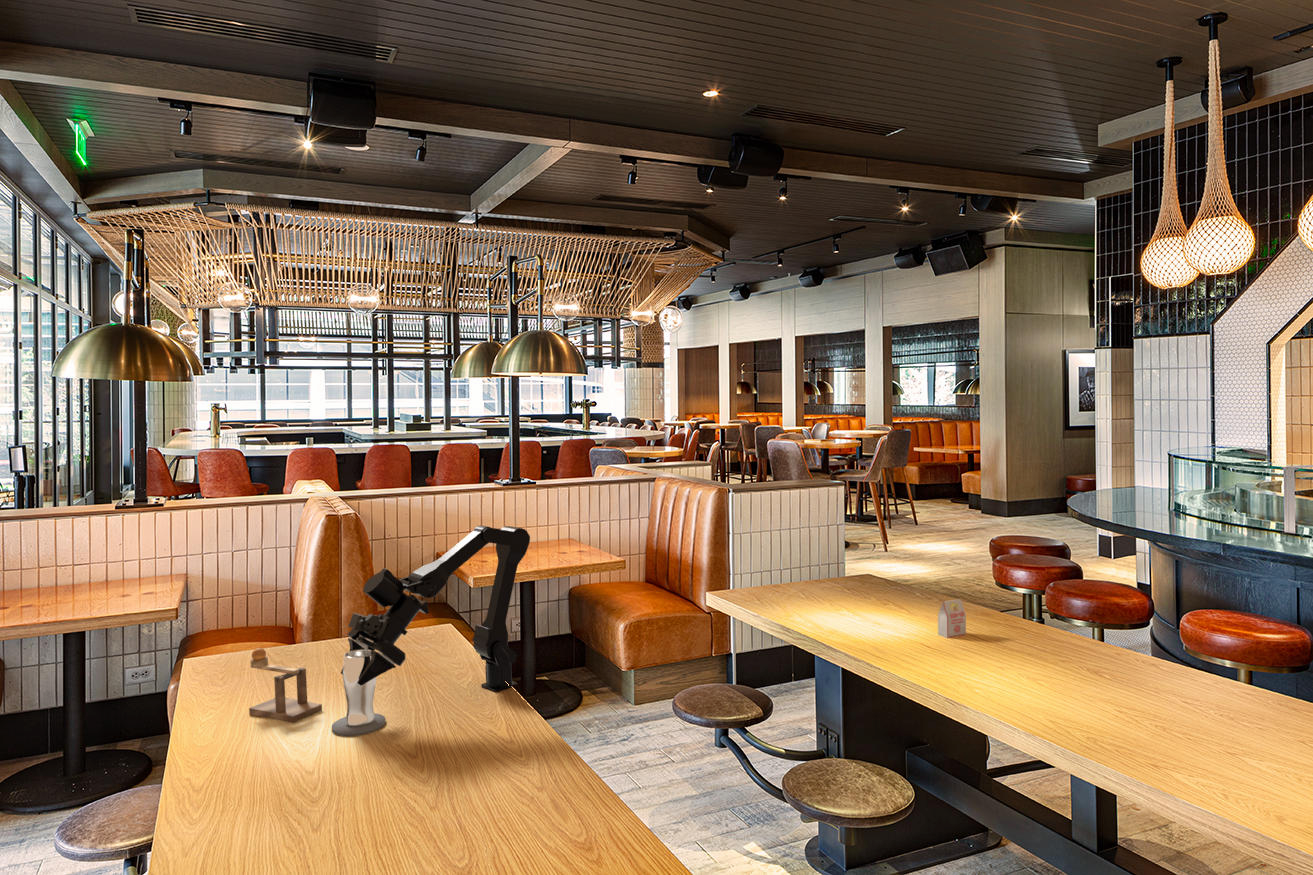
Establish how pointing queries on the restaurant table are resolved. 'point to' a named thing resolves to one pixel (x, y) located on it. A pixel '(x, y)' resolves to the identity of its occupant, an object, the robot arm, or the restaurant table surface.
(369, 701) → the beer glass
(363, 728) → the mat
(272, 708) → the toy catapult
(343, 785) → the restaurant table surface
